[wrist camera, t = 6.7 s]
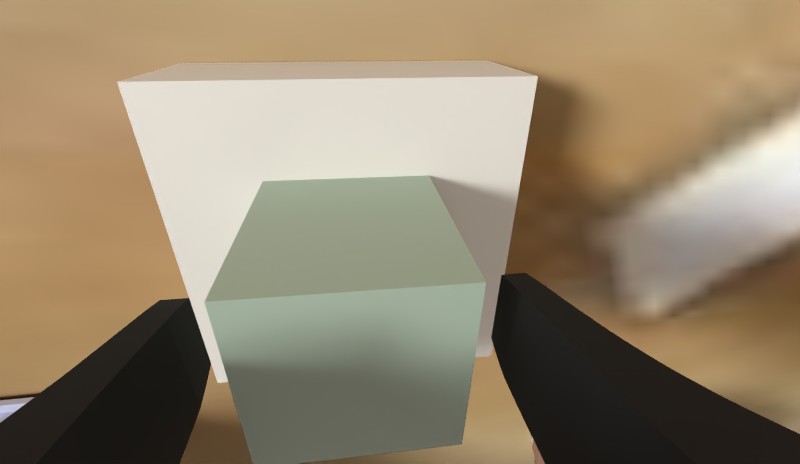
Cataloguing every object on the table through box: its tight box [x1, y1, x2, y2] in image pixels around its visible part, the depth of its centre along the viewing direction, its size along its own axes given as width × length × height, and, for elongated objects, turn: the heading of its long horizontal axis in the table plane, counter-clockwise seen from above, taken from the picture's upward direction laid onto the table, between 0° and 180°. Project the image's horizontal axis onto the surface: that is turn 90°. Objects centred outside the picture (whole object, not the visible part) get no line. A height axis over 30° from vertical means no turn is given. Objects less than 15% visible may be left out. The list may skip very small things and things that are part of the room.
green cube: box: [204, 175, 486, 464], centre depth 9 cm, size 4×4×5 cm
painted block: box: [117, 60, 538, 383], centre depth 13 cm, size 10×10×4 cm
